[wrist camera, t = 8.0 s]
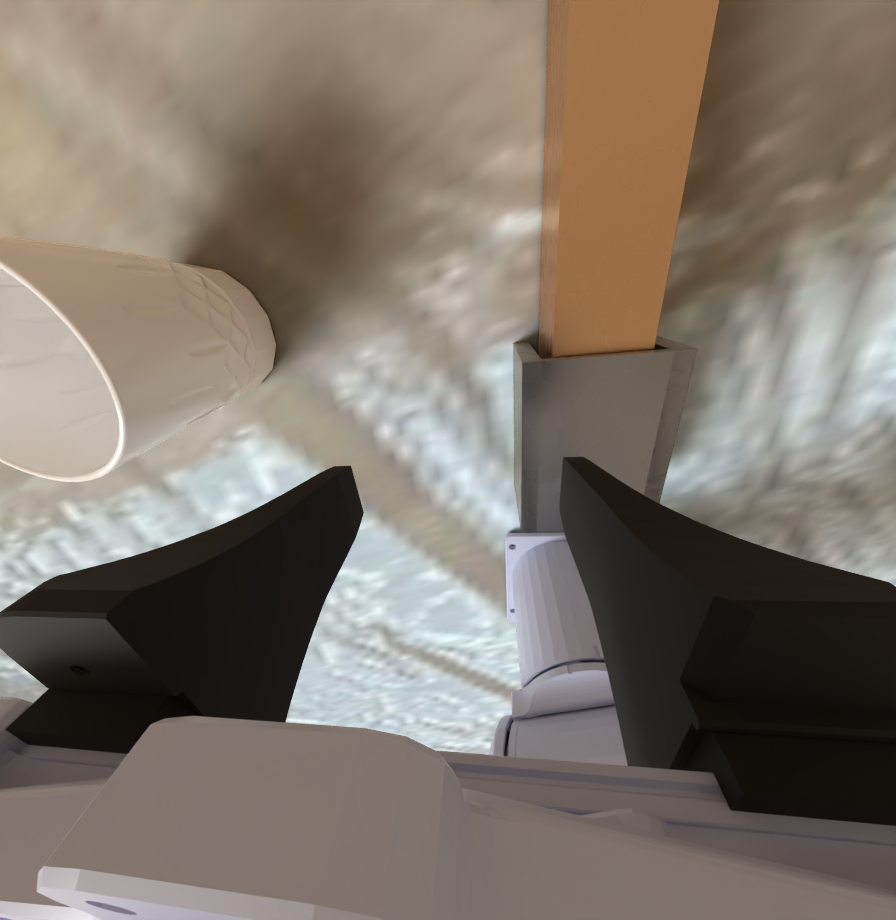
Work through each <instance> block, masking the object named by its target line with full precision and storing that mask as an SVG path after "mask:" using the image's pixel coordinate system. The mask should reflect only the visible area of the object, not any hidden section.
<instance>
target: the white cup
mask: <svg viewBox="0 0 896 920" xmlns="http://www.w3.org/2000/svg"><path fill="white" fill-rule="evenodd" d="M275 351H276V342H275V338H274V335H273V331H272V328H271V324H270V321H269V317H268V316H267V314H266V313H265V311H264V310H263V308H262V307H261V306H260V304H259V303H258V301H257V300H256V299H255V297H254V296H253V294H252V293H251V291H250V290H249V289H247V288H246V287H244V286H243V285H242V284H240V283H239V282H237V281H236V280H235V279H233V278H232V277H230V276H229V275H228V274H226V273H225V272H223V271H221V270H216V269H211V268H206V267H202V266H197V265H191V264H182V263H173V262H170V261H168V260H166V259H162V258H156V257H149V256H141V255H136V254H131V253H123V252H115V251H107V250H102V249H97V248H92V247H85V246H77V245H68V244H61V243H53V242H45V241H37V240H30V239H22V238H14V237H7V236H0V461H1V462H3V463H5V464H7V465H9V466H11V467H13V468H16V469H18V470H21V471H23V472H26V473H29V474H32V475H35V476H39V477H42V478H46V479H51V480H57V481H66V482H81V481H88V480H93V479H96V478H99V477H101V476H103V475H105V474H107V473H109V472H111V471H112V470H114V469H116V468H118V467H120V466H121V465H123V464H125V463H127V462H128V461H130V460H132V459H134V458H135V457H137V456H139V455H141V454H143V453H144V452H146V451H148V450H150V449H151V448H153V447H155V446H157V445H159V444H160V443H162V442H164V441H166V440H168V439H169V438H171V437H173V436H175V435H177V434H178V433H180V432H182V431H184V430H186V429H187V428H189V427H191V426H193V425H195V424H196V423H198V422H200V421H201V420H203V419H205V418H206V417H208V416H209V415H211V414H212V413H214V412H216V411H218V410H220V409H221V408H223V407H225V406H226V405H228V404H229V403H231V402H232V401H233V400H235V399H236V398H237V397H238V396H240V395H242V394H244V393H246V392H248V391H250V390H252V389H254V388H255V387H257V386H259V385H260V384H261V383H262V381H263V380H264V379H265V378H266V377H267V375H268V374H269V373H270V372H271V371H272V369H273V364H274V357H275Z"/></svg>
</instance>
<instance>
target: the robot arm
mask: <svg viewBox="0 0 896 920" xmlns="http://www.w3.org/2000/svg"><path fill="white" fill-rule="evenodd" d="M559 511H560V516H561V520H562V525H563V529H564V533H509V534H507V535H506V537H505V554H506V596H507V619H508V621H510V622H516V632H517V643H518V654H519V665H520V676H521V688H522V689H520V690H517V691H513V692H511V702H512V715H506V716H504V717H503V718H502V719H501V720H500V722H499V723H498V726H497V728H496V731H495V735H494V737H493V740H492V743H491V747H490V753H489V755H485V754H472V753H460V752H447V751H435V750H433V749H431V748H429V747H427V746H425V745H423V744H421V743H419V742H416V741H414V740H412V739H410V738H408V737H406V736H401V735H396V734H391V733H386V732H381V731H376V730H371V729H366V728H353V727H339V726H326V725H312V724H298V723H285V721H286V718H287V714H288V710H289V706H290V703H291V699H292V696H293V693H294V689H295V686H296V683H297V680H298V676H299V673H300V670H301V666H302V663H303V660H304V657H305V654H306V651H307V648H308V645H309V642H310V639H311V637H312V634H313V631H314V628H315V625H316V623H317V620H318V617H319V615H320V612H321V609H322V607H323V604H324V602H325V599H326V597H327V595H328V593H329V591H330V589H331V587H332V585H333V583H334V580H335V578H336V576H337V574H338V572H339V570H340V568H341V566H342V565H343V563H344V561H345V559H346V557H347V554H348V552H349V550H350V548H351V546H352V544H353V542H354V540H355V538H356V535H357V532H358V529H359V527H360V523H361V520H362V517H363V513H364V512H363V508H362V505H361V501H360V498H359V494H358V490H357V487H356V483H355V479H354V476H353V472H352V468H351V466H334V467H332V468H329V469H327V470H325V471H323V472H321V473H320V474H318V475H316V476H314V477H312V478H311V479H309V480H307V481H305V482H304V483H302V484H300V485H298V486H297V487H295V488H293V489H291V490H290V491H288V492H286V493H284V494H283V495H281V496H279V497H277V498H275V499H273V500H271V501H269V502H268V503H266V504H264V505H262V506H260V507H258V508H256V509H254V510H252V511H250V512H248V513H246V514H244V515H242V516H240V517H238V518H236V519H233V520H231V521H229V522H227V523H224V524H222V525H220V526H217V527H215V528H212V529H210V530H207V531H205V532H202V533H199V534H197V535H194V536H191V537H189V538H186V539H184V540H181V541H178V542H175V543H173V544H170V545H167V546H164V547H161V548H157V549H154V550H151V551H148V552H145V553H141V554H138V555H135V556H132V557H128V558H125V559H121V560H118V561H114V562H110V563H106V564H102V565H99V566H95V567H91V568H87V569H83V570H79V571H75V572H71V573H67V574H63V575H59V576H56V577H54V578H52V579H50V580H48V581H46V582H44V583H42V584H41V585H39V586H38V587H36V588H35V589H33V590H32V591H30V592H29V593H27V594H26V595H25V596H23V597H22V598H20V599H19V600H17V601H16V602H14V603H13V604H11V605H10V606H8V607H7V608H5V609H4V610H3V611H1V612H0V648H1V649H2V650H3V651H4V652H5V653H6V654H7V655H8V656H9V657H11V658H12V659H13V660H14V661H15V662H17V663H18V664H19V665H20V666H21V667H23V668H24V669H25V670H26V671H28V672H29V673H30V674H31V675H32V676H34V677H35V678H36V679H37V680H38V681H40V682H41V683H42V684H43V685H45V686H46V687H47V688H49V689H48V690H47V691H46V692H45V693H44V694H43V695H42V696H41V697H40V698H39V699H37V700H36V701H35V702H34V703H31V702H28V701H26V700H23V699H19V698H12V697H0V920H896V587H895V586H894V585H892V584H891V583H889V582H885V581H882V580H878V579H874V578H870V577H867V576H863V575H859V574H855V573H851V572H848V571H844V570H840V569H836V568H833V567H829V566H825V565H821V564H818V563H814V562H810V561H807V560H803V559H800V558H797V557H794V556H791V555H787V554H784V553H781V552H778V551H775V550H772V549H768V548H765V547H762V546H759V545H756V544H754V543H751V542H748V541H745V540H742V539H739V538H737V537H734V536H732V535H729V534H726V533H724V532H721V531H719V530H716V529H713V528H711V527H708V526H706V525H704V524H701V523H699V522H697V521H694V520H692V519H690V518H688V517H686V516H684V515H681V514H679V513H677V512H675V511H673V510H671V509H669V508H667V507H665V506H663V505H661V504H659V503H657V502H655V501H653V500H652V499H650V498H648V497H646V496H645V495H643V494H641V493H639V492H638V491H636V490H634V489H633V488H631V487H629V486H628V485H626V484H625V483H623V482H621V481H620V480H618V479H617V478H615V477H614V476H612V475H611V474H609V473H608V472H606V471H605V470H603V469H602V468H600V467H599V466H597V465H596V464H594V463H593V462H591V461H590V460H588V459H586V458H585V457H583V456H582V457H563V462H562V476H561V490H560V503H559ZM511 544H514V546H510V545H511Z"/></svg>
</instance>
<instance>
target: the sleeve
mask: <svg viewBox="0 0 896 920" xmlns="http://www.w3.org/2000/svg"><path fill="white" fill-rule="evenodd" d="M696 352H697V349H696V348H693V347H690V346H687V345H684V344H680V343H677V342H674V341H671V340H668V339H665V338H662V337H658V336H656V341H655V346H654V350H649V351H636V352H624V353H611V354H599V355H586V356H574V357H561V358H549V359H540V357H539V356H538V355H537V353H536V352H535V350H534V349H533V348H532V346H531V345H530V343H529V342H525V343H513V356H514V486H515V493H516V499H517V506H518V513H519V520H520V527H521V532H564V529H563V525H562V520H561V516H560V511H559V503H560V490H561V476H562V462H563V457H582V456H583V457H585V458H586V459H588V460H590V461H591V462H593V463H594V464H596V465H597V466H599V467H600V468H602V469H603V470H605V471H606V472H608V473H609V474H611V475H612V476H614V477H615V478H617V479H618V480H620V481H621V482H623V483H625V484H626V485H628V486H629V487H631V488H633V489H634V490H636V491H638V492H639V493H641V494H643V495H645V496H646V497H648V498H650V499H652V500H653V501H655V502H657V503H659V502H660V498H661V494H662V490H663V486H664V482H665V478H666V474H667V470H668V466H669V462H670V458H671V454H672V450H673V446H674V442H675V438H676V433H677V429H678V425H679V421H680V417H681V413H682V409H683V405H684V401H685V397H686V393H687V389H688V385H689V381H690V377H691V373H692V369H693V365H694V361H695V357H696Z"/></svg>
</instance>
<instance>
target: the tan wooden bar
mask: <svg viewBox="0 0 896 920" xmlns="http://www.w3.org/2000/svg"><path fill="white" fill-rule="evenodd" d="M718 5H719V0H548V30H547V65H546V101H545V136H544V172H543V207H542V243H541V278H540V313H539V349H538V356H539V357H540V359H549V358H561V357H574V356H586V355H599V354H611V353H624V352H636V351H649V350H654V346H655V341H656V336H657V330H658V325H659V320H660V314H661V309H662V304H663V298H664V293H665V288H666V282H667V277H668V272H669V266H670V261H671V256H672V250H673V245H674V240H675V234H676V229H677V224H678V218H679V213H680V208H681V202H682V197H683V192H684V186H685V181H686V176H687V170H688V165H689V160H690V154H691V149H692V144H693V138H694V133H695V128H696V122H697V117H698V112H699V106H700V101H701V96H702V90H703V85H704V80H705V74H706V69H707V64H708V58H709V53H710V48H711V42H712V37H713V32H714V26H715V21H716V16H717V10H718Z"/></svg>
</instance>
